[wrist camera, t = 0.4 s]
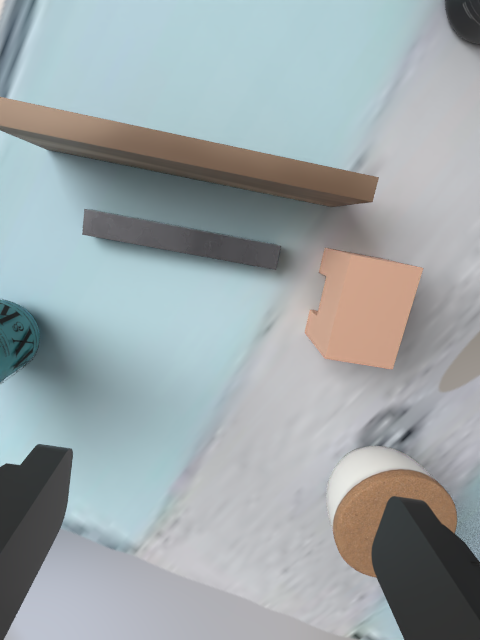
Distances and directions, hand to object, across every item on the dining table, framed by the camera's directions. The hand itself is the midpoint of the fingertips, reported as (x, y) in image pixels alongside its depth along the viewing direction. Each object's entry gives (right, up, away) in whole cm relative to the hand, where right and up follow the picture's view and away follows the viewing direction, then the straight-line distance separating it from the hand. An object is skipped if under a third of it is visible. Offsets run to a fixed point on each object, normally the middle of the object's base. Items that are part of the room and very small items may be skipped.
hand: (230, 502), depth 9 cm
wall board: (-3, +17, +22) cm, 28 cm away
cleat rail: (-4, +12, +23) cm, 27 cm away
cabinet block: (+10, +7, +26) cm, 28 cm away
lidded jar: (+13, -12, +31) cm, 36 cm away
